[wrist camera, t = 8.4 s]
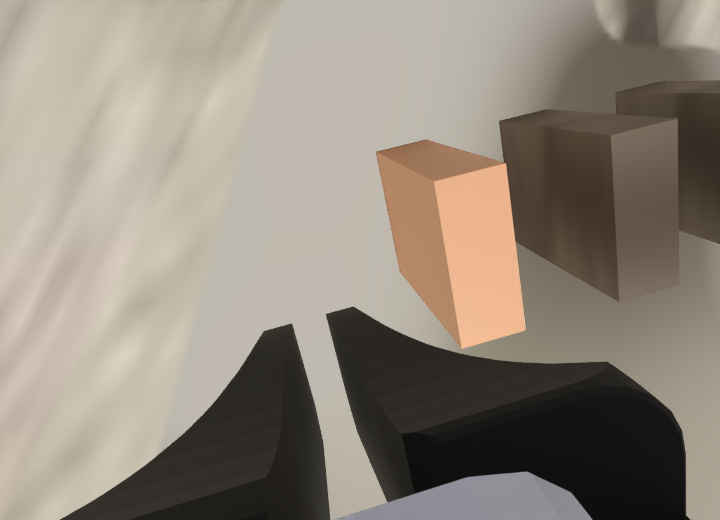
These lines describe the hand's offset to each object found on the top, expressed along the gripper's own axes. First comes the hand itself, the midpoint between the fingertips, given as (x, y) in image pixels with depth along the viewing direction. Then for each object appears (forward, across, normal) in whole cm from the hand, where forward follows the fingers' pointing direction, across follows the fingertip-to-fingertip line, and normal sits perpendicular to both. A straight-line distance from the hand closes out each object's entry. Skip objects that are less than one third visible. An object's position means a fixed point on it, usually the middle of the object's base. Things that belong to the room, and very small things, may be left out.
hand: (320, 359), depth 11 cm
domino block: (+10, -10, 0) cm, 14 cm away
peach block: (+10, -5, 0) cm, 11 cm away
